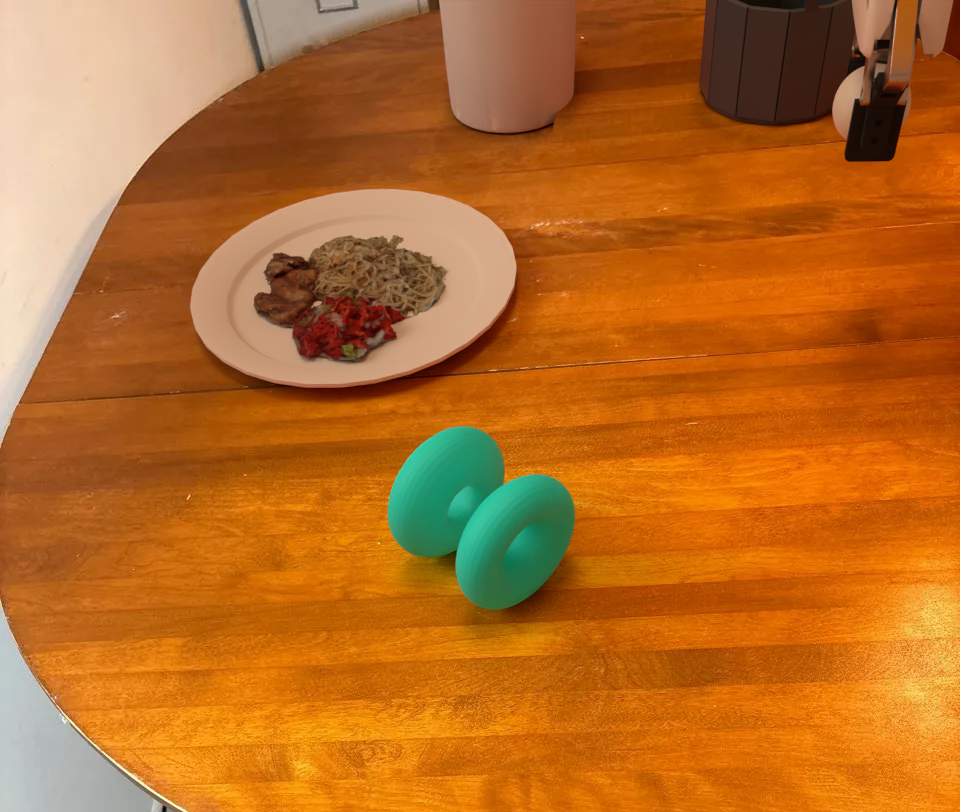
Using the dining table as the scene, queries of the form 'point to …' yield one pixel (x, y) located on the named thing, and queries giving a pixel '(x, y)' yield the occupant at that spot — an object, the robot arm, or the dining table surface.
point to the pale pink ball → (849, 93)
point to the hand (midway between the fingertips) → (865, 135)
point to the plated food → (353, 288)
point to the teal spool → (481, 517)
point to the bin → (775, 57)
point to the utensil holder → (509, 61)
